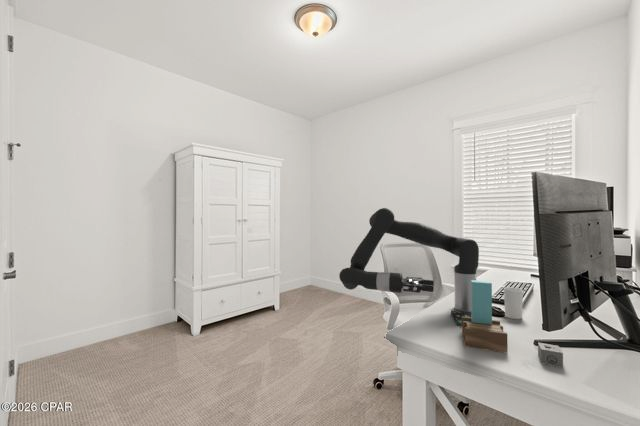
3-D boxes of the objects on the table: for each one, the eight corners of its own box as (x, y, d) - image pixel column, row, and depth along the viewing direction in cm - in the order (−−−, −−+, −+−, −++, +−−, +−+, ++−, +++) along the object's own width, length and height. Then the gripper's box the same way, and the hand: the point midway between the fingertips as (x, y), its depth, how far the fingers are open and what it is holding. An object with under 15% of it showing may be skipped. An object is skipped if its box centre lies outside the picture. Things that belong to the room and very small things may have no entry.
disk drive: (450, 316, 126) (457, 329, 112) (450, 310, 126) (457, 322, 112) (476, 318, 124) (487, 332, 110) (476, 312, 124) (487, 324, 110)
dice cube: (538, 358, 89) (537, 342, 89) (558, 362, 86) (558, 345, 86) (541, 366, 84) (541, 349, 84) (563, 370, 82) (562, 353, 82)
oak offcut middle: (466, 339, 100) (466, 322, 100) (500, 344, 96) (499, 326, 96) (467, 342, 98) (467, 324, 98) (501, 347, 94) (501, 328, 94)
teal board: (471, 335, 104) (471, 280, 104) (490, 337, 101) (490, 281, 101) (472, 338, 101) (472, 281, 101) (492, 341, 99) (491, 283, 99)
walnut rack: (462, 334, 106) (461, 316, 106) (499, 339, 102) (499, 320, 102) (465, 348, 95) (465, 328, 95) (507, 355, 91) (507, 333, 91)
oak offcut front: (467, 342, 98) (467, 325, 98) (501, 347, 94) (501, 329, 94) (468, 345, 96) (468, 327, 96) (502, 350, 92) (502, 331, 92)
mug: (526, 320, 120) (525, 291, 120) (508, 319, 121) (508, 290, 121) (514, 312, 130) (514, 285, 130) (498, 311, 131) (498, 285, 131)
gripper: (386, 276, 107) (433, 279, 100) (392, 269, 120) (433, 272, 114) (386, 296, 107) (433, 301, 100) (392, 287, 120) (433, 291, 114)
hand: (433, 285), depth 107 cm, fingers open, 8 cm apart
